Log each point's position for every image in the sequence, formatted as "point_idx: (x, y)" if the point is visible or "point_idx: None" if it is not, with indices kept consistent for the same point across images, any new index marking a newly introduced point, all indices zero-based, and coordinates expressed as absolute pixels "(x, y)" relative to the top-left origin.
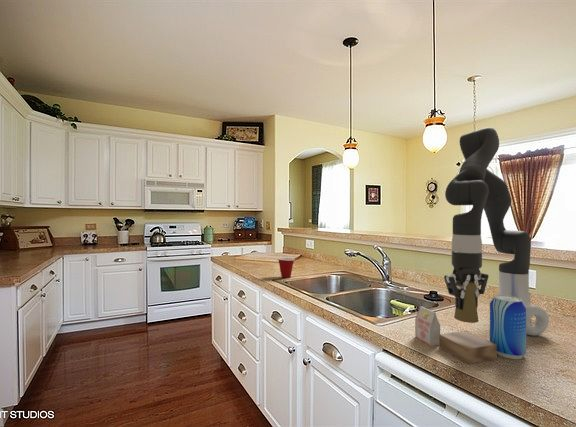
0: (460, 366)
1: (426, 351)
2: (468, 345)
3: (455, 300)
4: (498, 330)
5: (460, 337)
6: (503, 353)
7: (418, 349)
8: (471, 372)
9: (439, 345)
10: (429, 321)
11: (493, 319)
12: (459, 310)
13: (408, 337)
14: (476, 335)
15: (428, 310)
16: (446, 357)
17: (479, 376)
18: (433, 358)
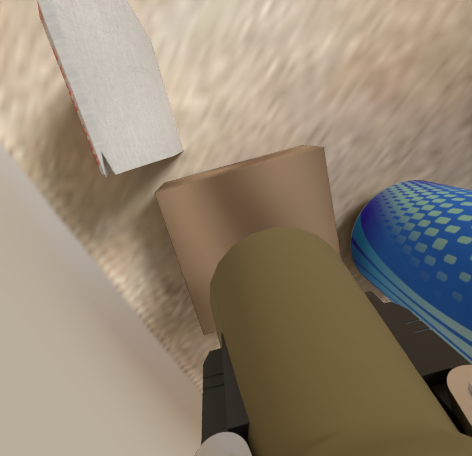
0: (173, 317)
1: (95, 215)
2: None
3: (203, 412)
4: (402, 301)
5: (241, 230)
6: (359, 271)
7: (66, 197)
8: (188, 346)
9: (163, 184)
10: (96, 154)
11: (435, 302)
12: None
13: (52, 60)
14: (331, 209)
15: (77, 103)
16: (155, 261)
17: (198, 364)
18: (102, 269)
